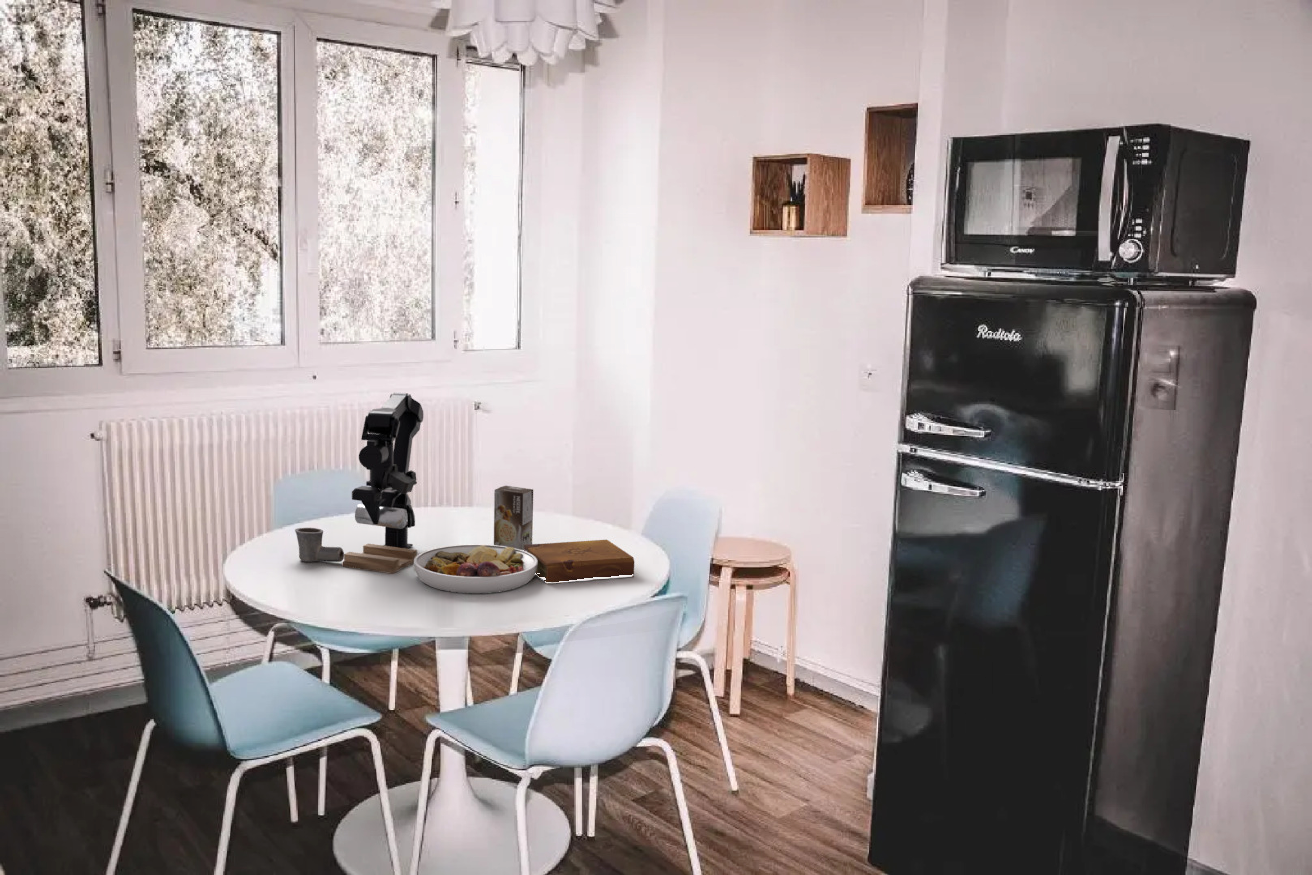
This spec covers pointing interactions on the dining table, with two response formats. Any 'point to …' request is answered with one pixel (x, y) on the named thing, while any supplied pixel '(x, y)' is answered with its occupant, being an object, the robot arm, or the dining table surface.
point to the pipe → (316, 547)
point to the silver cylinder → (383, 517)
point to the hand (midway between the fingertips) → (381, 521)
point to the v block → (380, 558)
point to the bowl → (475, 568)
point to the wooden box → (580, 560)
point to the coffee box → (513, 517)
